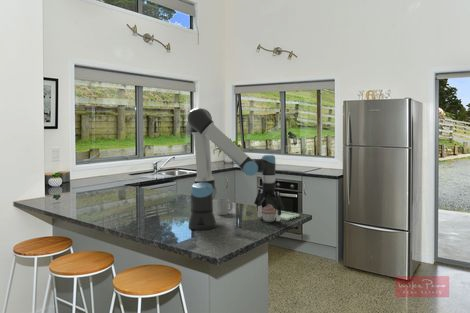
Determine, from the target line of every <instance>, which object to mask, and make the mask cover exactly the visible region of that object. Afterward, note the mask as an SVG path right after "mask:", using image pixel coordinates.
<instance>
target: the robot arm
mask: <svg viewBox="0 0 470 313" xmlns="http://www.w3.org/2000/svg"><path fill="white" fill-rule="evenodd" d="M212 118H213V117H212V115H211V113H210V111H209V110H207V109H205V108H202V107H201V108H200V107H196V108H192V109H191V110H190V111H189V113H188V114H187V123H188V125H189V126H190V131H191V132H190V133H191V135H193V138H194V152H195V155H194V156H195V167H196V178H195V179H194V183H193V184H192V185H191V186H190V196H191V197H190V199H191V200H190V201H191V203H190V204H191V205H190V206H191V207H190V208H191V214H190V217H189V221H188V228H189V229H191V230H194V231H195V230H196V231H207V230H213V229H215V228H216V227H217V220H216V217H215V215H214V208H213V207H214V206H213V205H214V202H213V201H214V199H215V197H216V195H217V187H216V181H215V178H214V177H213V175H212V174H213V173H212V172H213V171H212V161H211V160H212V159H211V145H210V144H211V143H213V144H214V145H215V146H216V147H217V148H218V149H219V150H220V151H221V152H223V153H224V154H225V155H226V156H227V157H228V158H229V159H231V160H232V162H233V163H235V165H237V166H238V167H239V168H240V170H241V172H242V173H244V174H245V175H247V176H249V177H250V176H254V175H255V174H256V173H260V172H261V173H262V174H261V180H262V184H261V187H262V188H260V189H258V190H257V191H258V192H257V194H256V197H255V200H254V205H256V211H257V218H263V216H262V214H261V212H262V210H263V206H262V204H263V202H264V201H265V200H266V199H268V200H271V201H272V202H273V205H274V206H275V207H276V209H275V212H276V219H275V221H276V222H280V221H281V220H280V215H281V211H282V210H283V209H285V205H284V202H283V199H282V198H281V194H280V191H276V157H275V155H273V154H263V155H262V157H261V158H251V157H250V156H249V155H248V154H246V152H244V151H243V149H241V148H240V147H239V146H238V145H237V144H236V143H234V142H233V141H232V139H230V138H229V137H228V136H227V135H226V134H225V133H224V132H223V131H222V130H221V129H219V128H218V127H217V126H216V125H215V122H214V120H213V119H212ZM210 142H211V143H210Z"/></svg>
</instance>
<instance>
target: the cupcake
mask: <svg viewBox="0 0 470 313" xmlns="http://www.w3.org/2000/svg"><path fill="white" fill-rule="evenodd" d="M261 214H262V219H263V220H262V221H263V222H266V223H272V222H273V223H274V222H275V221H276V219H275V217H276V208H275V207H274V206H273V205H272V204H269V203H267V205H266V206H264V207H262V212H261Z"/></svg>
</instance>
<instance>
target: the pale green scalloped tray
mask: <svg viewBox="0 0 470 313" xmlns="http://www.w3.org/2000/svg"><path fill="white" fill-rule="evenodd" d="M296 217H297V218H299V217H300V214H298V213H295V212H294V213H293V212H289V211H288V212H287V211H284V210H281V215H280V221H285V222H288V221H290V219H291V220H294V219H297V218H296ZM293 218H294V219H293ZM275 220H276V217H275Z"/></svg>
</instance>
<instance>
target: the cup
mask: <svg viewBox="0 0 470 313" xmlns="http://www.w3.org/2000/svg"><path fill="white" fill-rule="evenodd" d="M233 209H234V204H233V201H231V200H229V198H218V199H216V213H217V215H220V216H226V215H229V213H230V212H231V211H233Z"/></svg>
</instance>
